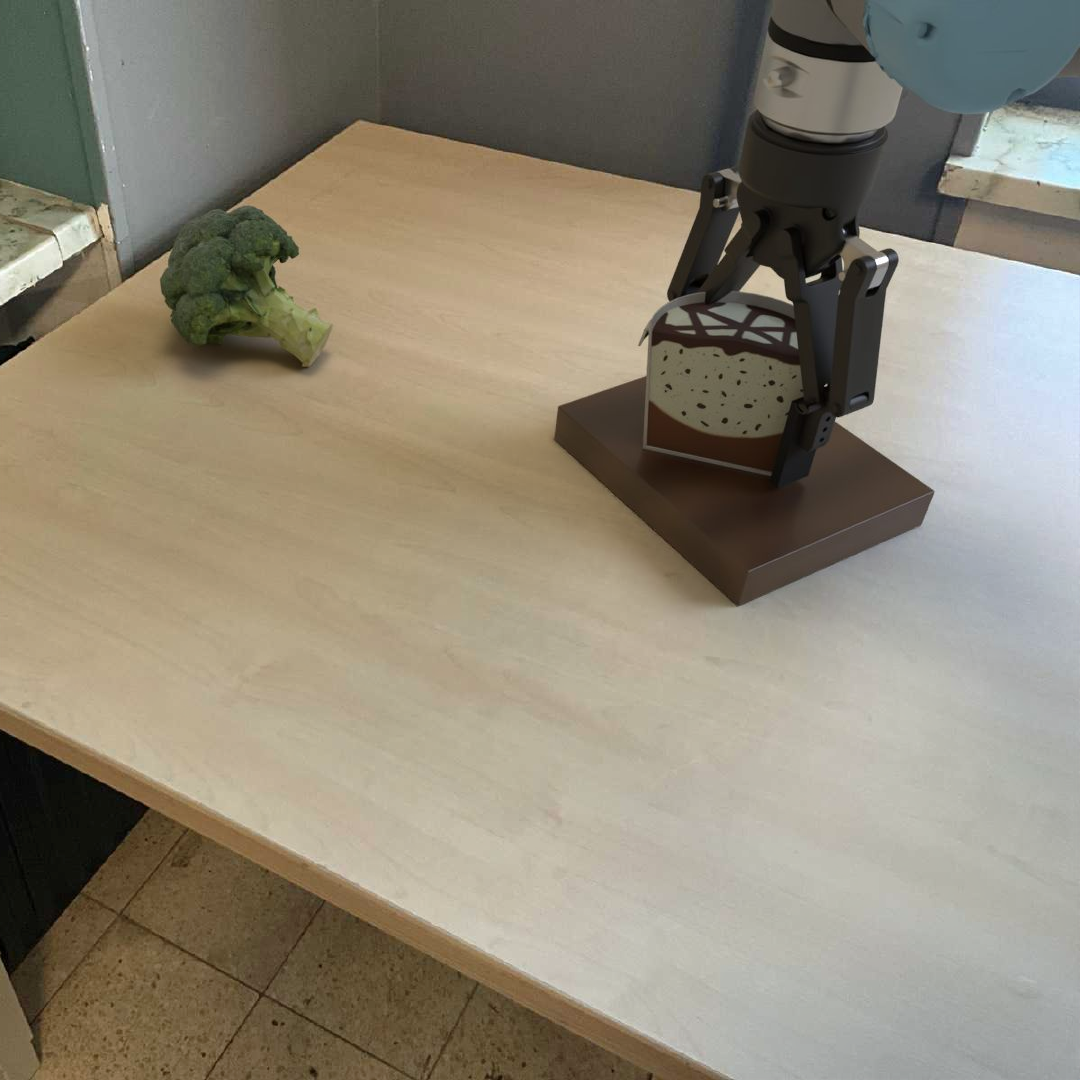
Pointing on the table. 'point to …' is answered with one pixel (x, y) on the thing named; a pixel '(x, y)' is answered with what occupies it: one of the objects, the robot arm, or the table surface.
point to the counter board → (744, 498)
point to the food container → (721, 379)
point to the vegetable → (238, 284)
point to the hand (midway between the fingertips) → (739, 440)
